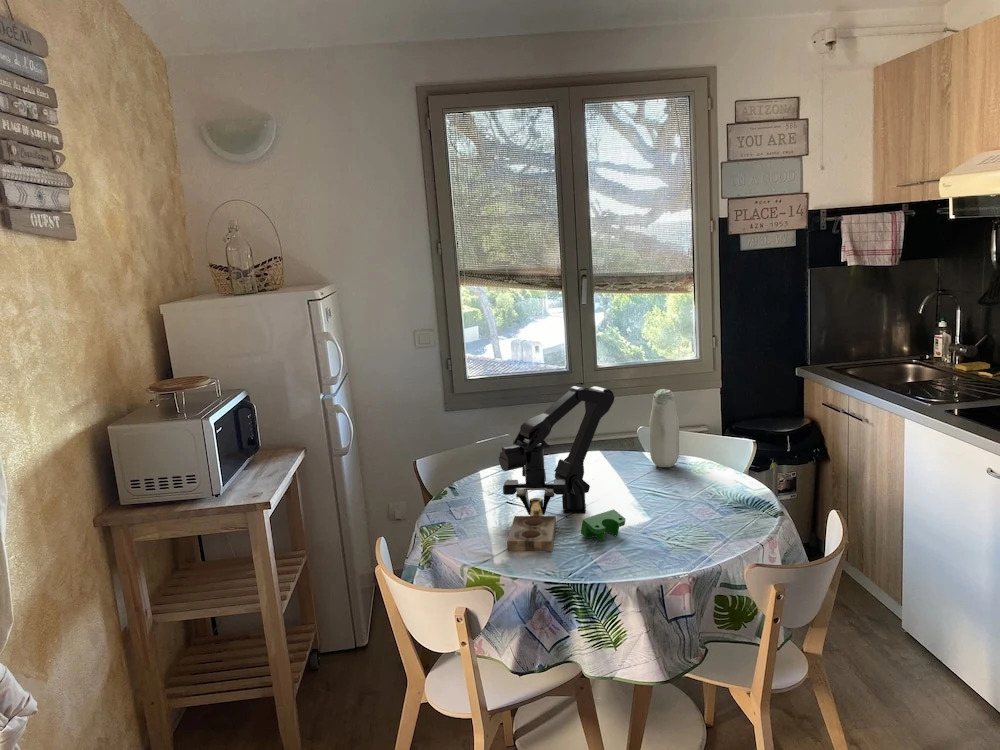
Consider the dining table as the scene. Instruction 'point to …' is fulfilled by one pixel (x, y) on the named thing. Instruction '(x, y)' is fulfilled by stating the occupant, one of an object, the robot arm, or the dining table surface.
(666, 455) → the white bottle
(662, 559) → the dining table surface
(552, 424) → the robot arm
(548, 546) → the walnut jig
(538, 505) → the brass sleeve
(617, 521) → the clamp
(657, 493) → the dining table surface
